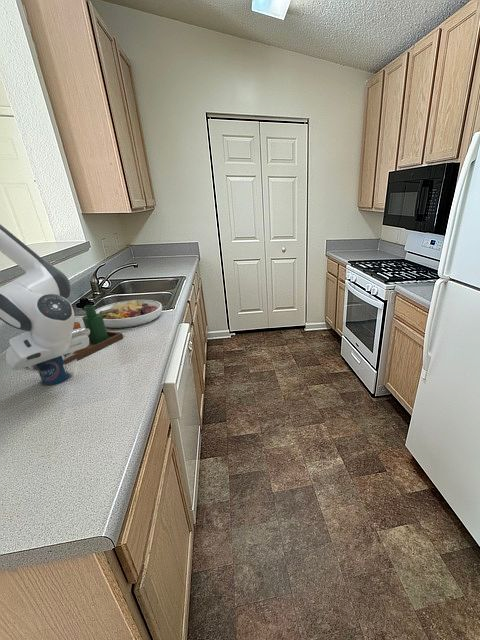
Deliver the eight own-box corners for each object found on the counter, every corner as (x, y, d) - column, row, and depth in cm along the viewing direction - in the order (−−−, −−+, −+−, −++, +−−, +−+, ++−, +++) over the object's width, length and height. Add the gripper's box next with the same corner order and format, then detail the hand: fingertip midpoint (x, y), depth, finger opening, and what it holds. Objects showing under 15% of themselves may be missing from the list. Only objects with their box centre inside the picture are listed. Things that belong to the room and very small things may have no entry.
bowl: (79, 326, 151) (73, 309, 147) (130, 306, 176) (127, 292, 172) (129, 334, 141) (125, 316, 138) (176, 312, 166) (173, 297, 163)
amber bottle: (67, 357, 121) (52, 318, 115) (69, 350, 127) (55, 313, 120) (87, 353, 124) (74, 315, 117) (88, 347, 129) (76, 310, 123)
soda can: (41, 389, 101) (26, 354, 96) (46, 379, 107) (32, 345, 102) (68, 384, 104) (54, 349, 98) (71, 374, 109) (59, 341, 104)
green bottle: (90, 346, 130) (78, 309, 123) (91, 340, 135) (79, 305, 128) (109, 343, 133) (98, 307, 126) (109, 337, 138) (99, 302, 131)
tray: (50, 374, 110) (48, 367, 109) (24, 368, 114) (21, 362, 113) (123, 338, 137) (122, 333, 136) (100, 335, 141) (98, 329, 140)
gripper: (84, 318, 100) (80, 341, 109) (1, 341, 85) (3, 365, 94) (96, 335, 99) (90, 356, 109) (14, 361, 84) (16, 383, 94)
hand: (49, 361), depth 101 cm, fingers open, 8 cm apart
